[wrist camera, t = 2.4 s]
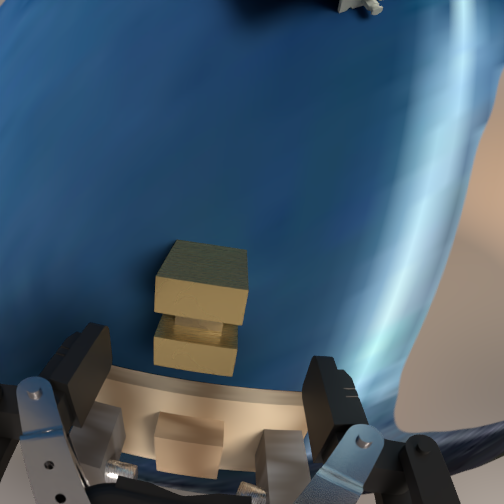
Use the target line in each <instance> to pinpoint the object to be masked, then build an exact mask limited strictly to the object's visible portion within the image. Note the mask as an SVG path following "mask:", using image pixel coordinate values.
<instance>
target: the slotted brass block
mask: <svg viewBox="0 0 504 504" xmlns="http://www.w3.org/2000/svg"><path fill="white" fill-rule="evenodd" d="M248 291H249V289H248V267H247V250H243V249H236V248H230V247H223V246H217V245H210V244H203V243H197V242H190V241H183V240H177V241H176V242H175V244H174V246H173V247H172V249H171V251H170V252H169V254H168V256H167V258H166V259H165V261H164V263H163V264H162V266H161V268H160V270H159V271H158V273H157V275H156V282H155V307H154V312H158V313H163V315H162V317H161V320H160V322H159V325H158V327H157V330H156V332H155V335H154V365H159V366H165V367H170V368H176V369H182V370H188V371H194V372H201V373H208V374H215V375H223V376H231V377H232V375H233V370H234V365H235V359H236V354H237V339H238V325H242V322H243V317H244V312H245V307H246V301H247V296H248Z"/></svg>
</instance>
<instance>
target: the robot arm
mask: <svg viewBox="0 0 504 504" xmlns="http://www.w3.org/2000/svg"><path fill="white" fill-rule="evenodd" d="M111 365H112V350H111V342H110V333H109V328H108V326H104V325H100V324H95V323H89V324H88V325H87V326H86V328H85V329H84V330H83V332H82V333H80V332H76V333H74V334H72V335H71V336H69V337H68V338H67V339H66V340H65V341H64V342H63V344H62V345H61V348H59V349H58V350H57V352H56V354H54V356H53V357H52V358H51V360H50V361H49V362H48V364H47V365H46V367H45V368H44V369H43V371H42V372H41V373H40V375H39V376H38V377H29V378H26V379H24V380H23V381H21V382H20V383H19V385H18V386H15V385H5V384H0V482H1V479H2V477H3V475H4V472H5V470H6V468H7V466H8V463H9V461H10V459H11V457H12V455H13V452H14V450H15V448H16V446H17V444H18V442H19V440H20V444H21V449H22V453H23V457H24V462H25V466H26V470H27V474H28V478H29V481H30V485H31V488H32V492H33V495H34V498H35V501H36V504H252V496H241V495H228V494H209V495H196V496H181V495H178V494H175V493H172V492H170V491H168V490H165V489H163V488H161V487H158V486H156V485H154V484H152V483H149V482H144V481H140V480H136V479H132V478H128V477H124V476H120V475H118V478H117V481H116V483H113V482H112V483H100V484H95V485H92V486H90V485H89V482H88V480H87V478H86V476H85V474H84V472H83V469H82V467H81V464H80V462H79V459H78V457H77V454H76V451H75V448H74V446H73V443H72V440H71V437H70V434H69V430H70V428H71V426H75V427H78V428H81V429H82V426H83V424H84V422H85V420H86V418H87V416H88V414H89V412H90V410H91V408H92V406H93V404H94V401H95V399H96V397H97V395H98V393H99V391H100V389H101V387H102V385H103V383H104V381H105V379H106V377H107V376H108V374H109V372H110V369H111ZM302 400H303V406H304V412H305V417H306V423H307V428H308V434H309V440H310V446H311V451H312V457H313V463H323V464H324V465H323V467H322V468H320V470H319V471H318V472H317V473H316V475H315V476H314V477H313V479H312V480H311V481H310V483H309V484H308V485H307V486H306V488H305V489H304V490H303V492H302V493H301V494H300V495H299V496H298V498H297V499H296V500H295V501H294V503H293V504H356V502H357V500H358V499H359V497H360V495H361V494H362V492H363V491H369V492H374V495H375V500H376V504H460V501H459V498H458V495H457V493H456V490H455V487H454V485H453V482H452V479H451V477H450V474H449V471H448V469H447V466H446V464H445V461H444V459H443V456H442V454H441V452H440V449H439V447H438V445H437V443H436V442H435V441H434V440H433V439H432V438H430V437H428V436H425V435H414V436H411V437H410V438H409V439H408V440H407V441H406V443H403V442H397V441H391V440H386V439H384V438H383V436H382V434H381V433H380V431H378V430H377V429H376V428H374V427H372V426H370V425H369V424H368V421H367V418H366V415H365V413H364V410H363V407H362V404H361V402H360V399H359V398H358V394H357V391H356V390H355V386H354V383H353V380H352V378H351V377H350V376H349V375H348V374H347V373H346V372H345V371H344V370H337V367H336V364H335V361H334V358H333V357H327V356H313V357H312V359H311V362H310V365H309V368H308V371H307V374H306V377H305V380H304V383H303V388H302Z"/></svg>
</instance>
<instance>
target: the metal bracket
mask: <svg viewBox="0 0 504 504" xmlns="http://www.w3.org/2000/svg"><path fill="white" fill-rule="evenodd" d="M379 1H380V0H379ZM363 5H364V6H365V8H366V9H367V10H370V11H371V14H372V15H377V14H379V13H380V12H382V9H383V7H381V6H379V3H378V2H377V1H376V0H340V1H339V6H338V12H339V13H341V12H344V11H347V10H348V8H350V7H351V8H352V9H353V8H356V7H360V6H363Z"/></svg>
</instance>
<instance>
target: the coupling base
mask: <svg viewBox="0 0 504 504" xmlns="http://www.w3.org/2000/svg"><path fill="white" fill-rule="evenodd" d="M307 431H308V428H307V423H306V417H305V412H304V406H303V400H302V392H292V391H277V390H264V389H253V388H243V387H233V386H225V385H217V384H209V383H202V382H196V381H189V380H183V379H177V378H171V377H165V376H160V375H155V374H149V373H144V372H140V371H135V370H130V369H126V368H121V367H117V366H113V365H111V369H110V372H109V374H108V376H107V377H106V379H105V381H104V383H103V385H102V387H101V389H100V391H99V393H98V395H97V397H96V399H95V401H94V404H93V406H92V408H91V410H90V412H89V414H88V416H87V418H86V420H85V422H84V424H83V426H82V429H81V428H78V427H75V426H73V427H72V430H71V432H70V437H71V440H72V443H73V446H74V448H75V451H76V454H77V457H78V459H79V462H80V464H81V467H82V469H83V472H84V474H85V476H86V478H87V480H88V482H89V485H90V486H92V485H95V484H100V483H106V482H105V478H104V473H105V467H106V463H107V461H108V460H109V459H112V460H116V461H119V458H120V455H121V452H124V453H128V454H132V455H136V456H141V457H145V458H150V459H155V460H156V465H157V470H158V471H163V472H169V473H175V474H181V475H187V476H195V477H202V478H211V479H216V478H217V474H218V469H225V470H237V471H253V472H256V486H258V487H261V488H264V489H265V493H266V504H293V503H294V501H295V500H296V499H297V498H298V496H299V495H300V494H301V493H302V492H303V490H304V489H305V488H306V486H307V485H308V484H309V483H310V481H311V478H310V473H309V467H308V462H307V456H306V451H305V446H304V440H303V439H304V437H305V435H306V433H307Z"/></svg>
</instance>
